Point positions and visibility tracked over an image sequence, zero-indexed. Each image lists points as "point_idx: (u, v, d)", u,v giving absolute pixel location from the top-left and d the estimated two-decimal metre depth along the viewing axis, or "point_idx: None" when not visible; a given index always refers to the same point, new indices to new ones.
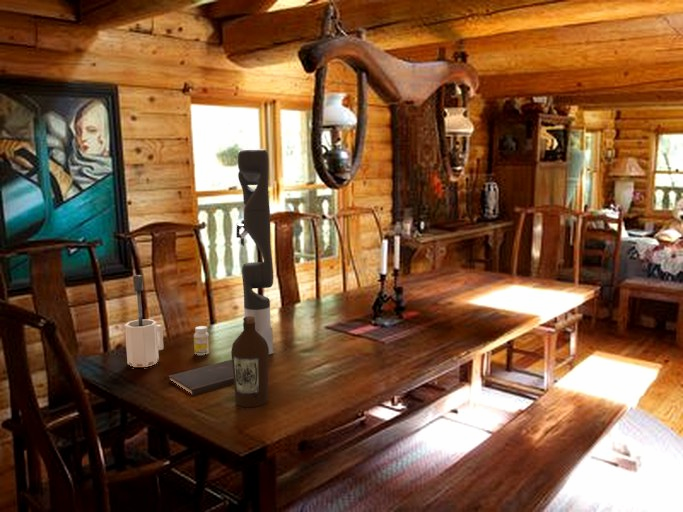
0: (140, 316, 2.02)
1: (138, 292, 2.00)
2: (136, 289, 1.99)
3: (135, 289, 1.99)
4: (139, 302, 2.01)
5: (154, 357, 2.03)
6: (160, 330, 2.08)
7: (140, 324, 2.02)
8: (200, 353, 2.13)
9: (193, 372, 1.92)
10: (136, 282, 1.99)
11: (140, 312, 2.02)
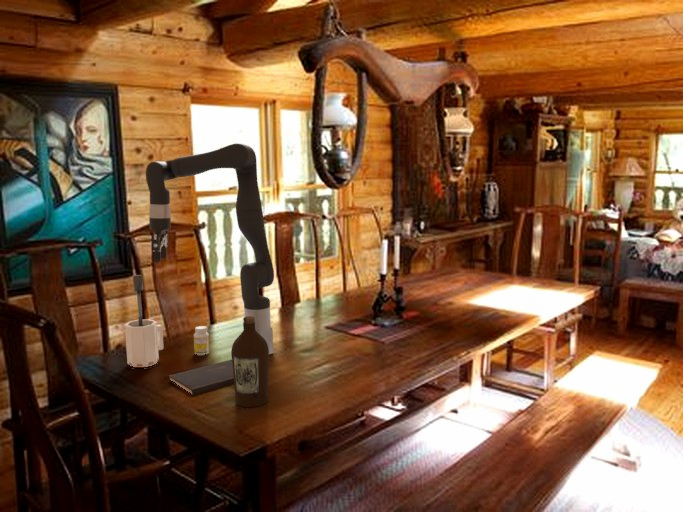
0: (140, 316, 2.02)
1: (138, 292, 2.00)
2: (136, 289, 1.99)
3: (135, 289, 1.99)
4: (139, 302, 2.01)
5: (154, 357, 2.03)
6: (160, 330, 2.08)
7: (140, 324, 2.02)
8: (200, 353, 2.13)
9: (193, 372, 1.92)
10: (136, 282, 1.99)
11: (140, 312, 2.02)
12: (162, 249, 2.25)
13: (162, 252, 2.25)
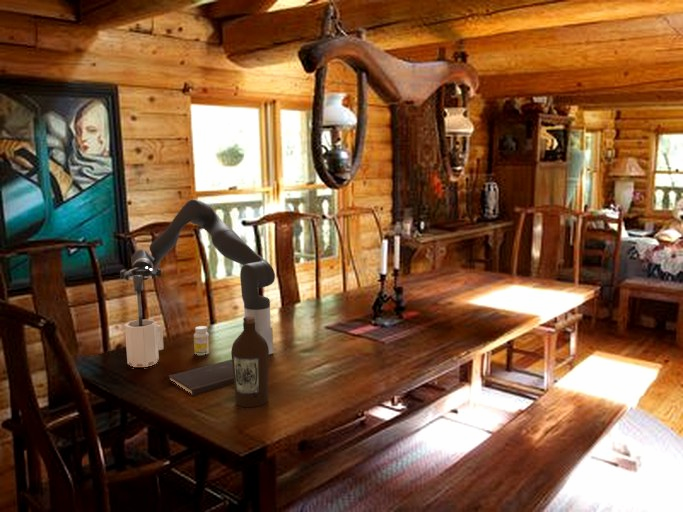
0: (140, 316, 2.02)
1: (138, 292, 2.00)
2: (136, 289, 1.99)
3: (135, 289, 1.99)
4: (139, 302, 2.01)
5: (154, 357, 2.03)
6: (160, 330, 2.08)
7: (140, 324, 2.02)
8: (200, 353, 2.13)
9: (193, 372, 1.92)
10: (136, 282, 1.99)
11: (140, 312, 2.02)
12: None
13: None
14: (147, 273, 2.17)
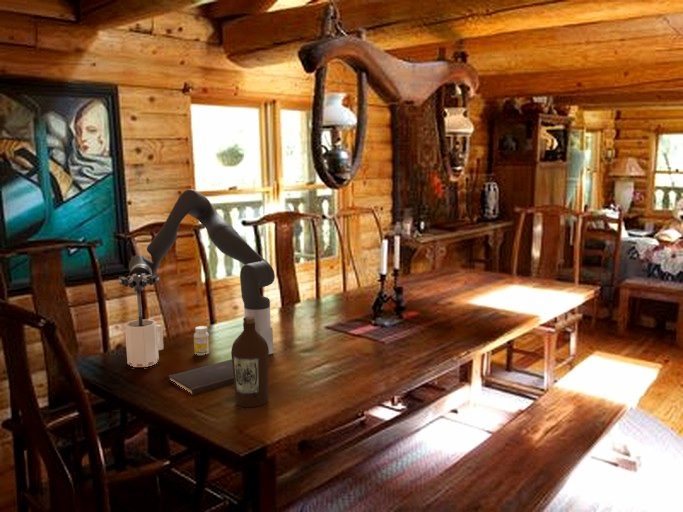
0: (140, 316, 2.02)
1: (138, 292, 2.00)
2: (136, 289, 1.99)
3: (135, 289, 1.99)
4: (139, 302, 2.01)
5: (154, 357, 2.03)
6: (160, 330, 2.08)
7: (140, 324, 2.02)
8: (200, 353, 2.13)
9: (193, 372, 1.92)
10: (136, 283, 1.99)
11: (140, 312, 2.02)
12: None
13: None
14: None
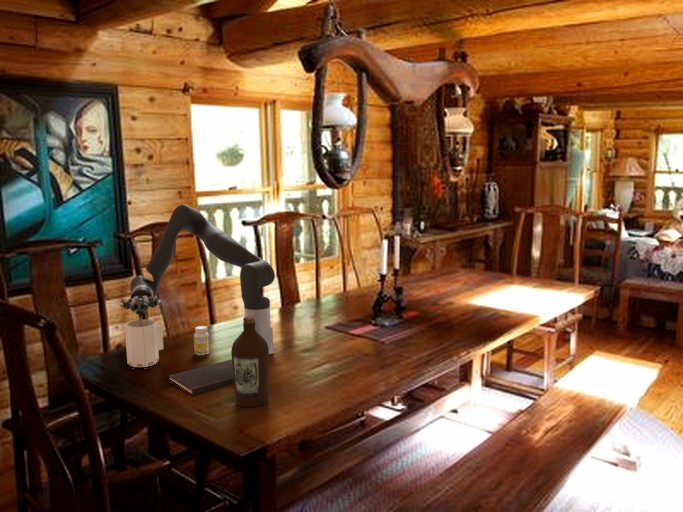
0: None
1: (140, 315, 2.02)
2: (138, 312, 2.01)
3: (137, 312, 2.01)
4: (141, 325, 2.02)
5: (154, 357, 2.03)
6: (160, 330, 2.08)
7: None
8: (200, 353, 2.13)
9: (193, 371, 1.92)
10: (137, 306, 2.00)
11: None
12: None
13: None
14: None
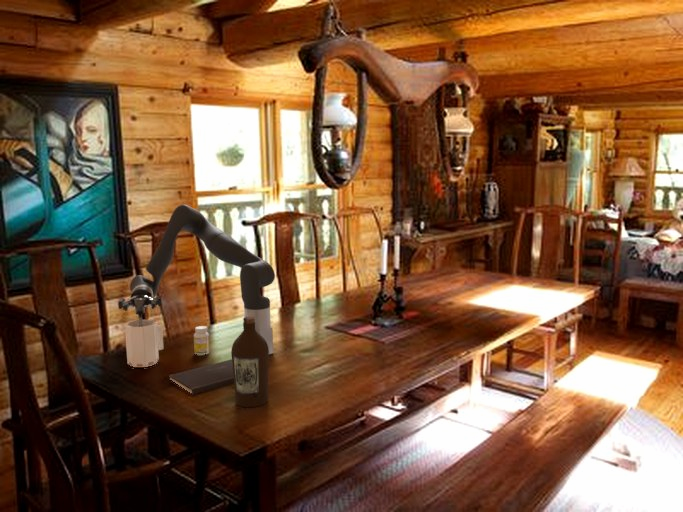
0: None
1: (140, 315, 2.02)
2: (138, 312, 2.01)
3: (137, 312, 2.01)
4: (141, 325, 2.02)
5: (154, 357, 2.03)
6: (160, 330, 2.08)
7: None
8: (200, 353, 2.13)
9: (193, 371, 1.92)
10: (137, 306, 2.00)
11: None
12: None
13: None
14: (147, 302, 2.07)
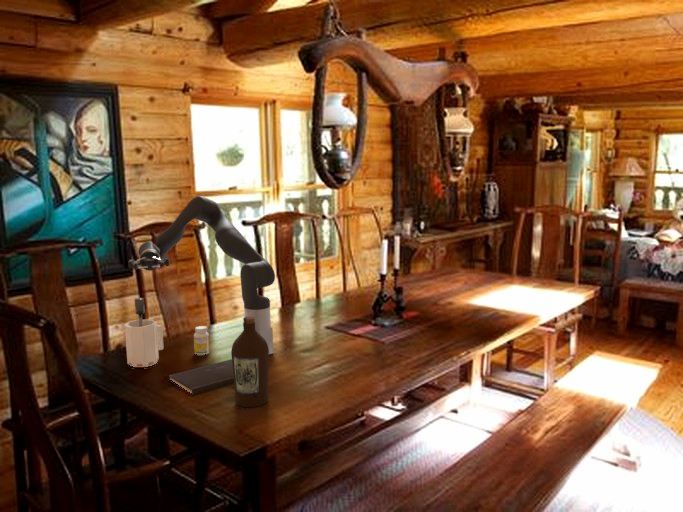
0: None
1: (140, 315, 2.02)
2: (138, 312, 2.01)
3: (137, 312, 2.01)
4: (141, 325, 2.02)
5: (154, 357, 2.03)
6: (160, 330, 2.08)
7: None
8: (200, 353, 2.13)
9: (193, 371, 1.92)
10: (137, 306, 2.00)
11: None
12: None
13: None
14: (155, 262, 2.21)
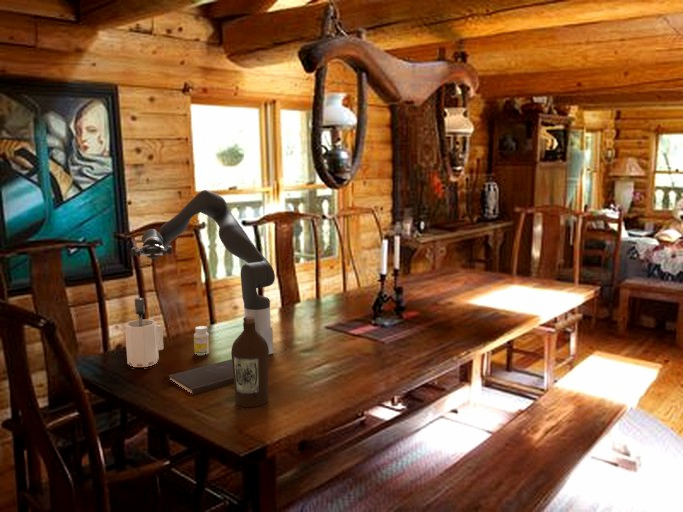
0: None
1: (140, 315, 2.02)
2: (138, 312, 2.01)
3: (137, 312, 2.01)
4: (141, 325, 2.02)
5: (154, 357, 2.03)
6: (160, 330, 2.08)
7: None
8: (200, 353, 2.13)
9: (193, 371, 1.92)
10: (137, 306, 2.00)
11: None
12: None
13: None
14: (158, 250, 2.22)
